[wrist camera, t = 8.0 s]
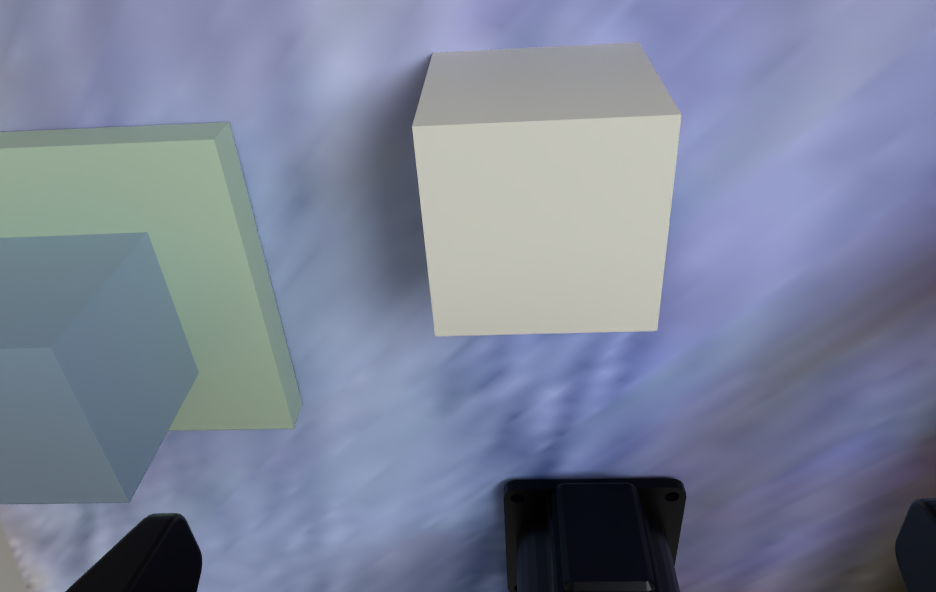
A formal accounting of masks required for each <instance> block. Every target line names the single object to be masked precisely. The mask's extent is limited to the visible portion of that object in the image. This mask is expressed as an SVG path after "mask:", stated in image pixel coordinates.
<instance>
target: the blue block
mask: <svg viewBox="0 0 936 592" xmlns="http://www.w3.org/2000/svg"><path fill="white" fill-rule="evenodd" d="M198 374H199V372H198V369H197V366H196V364H195V361H194V358H193V355H192V353H191V350H190V347H189V344H188V342H187V339H186V336H185V333H184V331H183V328H182V325H181V322H180V320H179V317H178V314H177V312H176V309H175V306H174V303H173V301H172V298H171V295H170V292H169V290H168V287H167V284H166V281H165V279H164V276H163V273H162V270H161V268H160V265H159V262H158V259H157V257H156V254H155V251H154V249H153V246H152V243H151V240H150V238H149V235H148V232H139V233H114V234H89V235H63V236H38V237H13V238H0V504H61V503H129V502H130V500H131V499H132V497H133V495H134V493H135V491H136V489H137V487H138V486H139V484H140V482H141V480H142V478H143V476H144V474H145V473H146V471H147V469H148V467H149V465H150V463H151V461H152V460H153V458H154V456H155V454H156V452H157V450H158V448H159V446H160V445H161V443H162V441H163V439H164V437H165V435H166V433H167V432H168V430H169V428H170V426H171V424H172V422H173V420H174V419H175V417H176V415H177V413H178V411H179V409H180V407H181V406H182V404H183V402H184V400H185V398H186V396H187V394H188V392H189V391H190V389H191V387H192V385H193V383H194V381H195V379H196V378H197V376H198Z"/></svg>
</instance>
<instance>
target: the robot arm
mask: <svg viewBox="0 0 936 592" xmlns="http://www.w3.org/2000/svg"><path fill="white" fill-rule="evenodd" d="M670 492H671V493H670ZM517 493H518V494H517ZM685 501H686V492H685V488H684V485H683V483H682V482H681V481H679V480H677V479H588V480H515V481H511V482H509V483H507V484H506V485H505V487H504V514H505V535H506V556H507V577H508V589H509V591H510V592H680V590H679V585H678V581H677V577H676V572H675V568H674V566H675V560H676V554H677V548H678V542H679V537H680V531H681V525H682V519H683V513H684V507H685ZM895 551H896V558H897V562H898V565H899V568H900V571H901V574H902V577H903V580H904V583H905V586H906V589H907V592H936V498H919V499H916V500H915V501H914V502H912V504H911V505H910V508H909V510H908V512H907V515H906V517H905V520H904V522H903V524H902V527H901V529H900V532H899V534H898V537H897V539H896V545H895ZM201 570H202V555H201V551H200V548H199V546H198V544H197V542H196V540H195V538H194V536H193V533H192V531H191V529H190V527H189V525H188V523H187V521H186V519H185V517H184V516H182V515H181V514H178V513H163V514H152V515H149V516H147V517H146V518H144V519H143V520H142V521H141V522H140V523H139V524H138V525H136V526H135V527H134V528H133V529H132V530H131V531H130V532H129V533H128V534H127V535H126V536H125V537H124V538H122V539H121V540H120V541H119V542H118V543H117V544H116V545H115V546H114V547H113V548H112V549H111V550H110V551H109V552H107V553H106V554H105V555H104V556H103V557H102V558H101V559H100V560H99V561H98V562H97V563H96V564H95V565H93V566H92V567H91V568H90V569H89V570H88V571H87V572H86V573H85V574H84V575H83V576H82V577H81V578H79V579H78V580H77V581H76V582H75V583H74V584H73V585H72V586H71V587H70V588H69V589H68V590H67V591H66V592H197V588H198V584H199V579H200V575H201Z"/></svg>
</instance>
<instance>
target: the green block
mask: <svg viewBox="0 0 936 592" xmlns="http://www.w3.org/2000/svg"><path fill="white" fill-rule="evenodd" d="M139 232H148V235H149V238H150V240H151V243H152V246H153V249H154V251H155V254H156V257H157V259H158V262H159V265H160V268H161V270H162V273H163V276H164V279H165V281H166V284H167V287H168V290H169V292H170V295H171V298H172V301H173V303H174V306H175V309H176V312H177V314H178V317H179V320H180V322H181V325H182V328H183V331H184V333H185V336H186V339H187V342H188V344H189V347H190V350H191V353H192V355H193V358H194V361H195V364H196V366H197V369H198V372H199V374H198V376H197V378H196V379H195V381H194V383H193V385H192V387H191V389H190V391H189V392H188V394H187V396H186V398H185V400H184V402H183V404H182V406H181V407H180V409H179V411H178V413H177V415H176V417H175V419H174V420H173V422H172V424H171V426H170V428H169V430H168V431H182V430H246V429H294V427H295V424H296V421H297V418H298V415H299V412H300V409H301V406H302V401H301V397H300V393H299V389H298V385H297V381H296V377H295V374H294V370H293V366H292V362H291V358H290V354H289V350H288V347H287V343H286V339H285V335H284V331H283V327H282V323H281V320H280V316H279V312H278V308H277V304H276V300H275V296H274V293H273V289H272V285H271V281H270V277H269V273H268V269H267V266H266V262H265V258H264V254H263V250H262V246H261V242H260V239H259V235H258V231H257V227H256V223H255V219H254V215H253V212H252V208H251V204H250V200H249V196H248V192H247V188H246V184H245V181H244V177H243V173H242V169H241V165H240V161H239V157H238V154H237V150H236V146H235V142H234V138H233V134H232V130H231V127H230V123H229V122H216V123H194V124H171V125H149V126H127V127H104V128H82V129H59V130H37V131H15V132H0V238H13V237H38V236H63V235H89V234H114V233H139Z"/></svg>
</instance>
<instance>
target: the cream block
mask: <svg viewBox="0 0 936 592" xmlns="http://www.w3.org/2000/svg"><path fill="white" fill-rule="evenodd" d="M680 123H681V113H680V111H679V109H678V108H677V106H676V104H675V103H674V101H673V99H672V98H671V96H670V94H669V93H668V91H667V89H666V88H665V86H664V84H663V82H662V81H661V79H660V77H659V76H658V74H657V72H656V71H655V69H654V67H653V66H652V64H651V62H650V61H649V59H648V57H647V55H646V54H645V52H644V50H643V49H642V47H641V45H640V44H639V42H634V43H614V44H595V45H575V46H556V47H536V48H517V49H497V50H478V51H458V52H439V53H432V57H431V61H430V64H429V68H428V71H427V75H426V78H425V82H424V86H423V89H422V93H421V96H420V100H419V103H418V107H417V111H416V114H415V118H414V121H413V125H412V131H413V140H414V149H415V158H416V167H417V176H418V186H419V195H420V204H421V213H422V222H423V231H424V240H425V249H426V258H427V268H428V277H429V286H430V295H431V304H432V313H433V322H434V331H435V336H470V335H510V334H550V333H590V332H630V331H657V328H658V319H659V310H660V301H661V292H662V283H663V274H664V266H665V257H666V248H667V239H668V230H669V221H670V212H671V203H672V194H673V186H674V177H675V168H676V159H677V150H678V141H679V132H680Z"/></svg>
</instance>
